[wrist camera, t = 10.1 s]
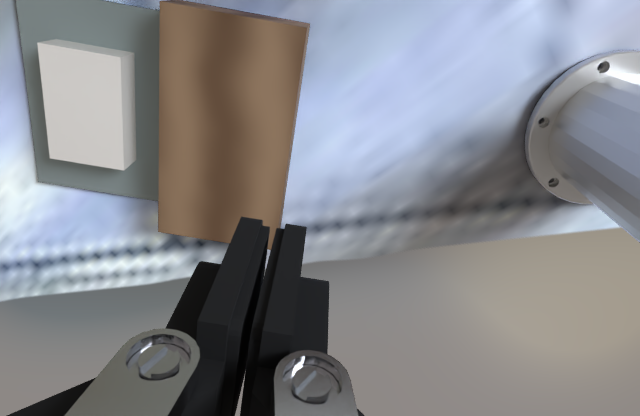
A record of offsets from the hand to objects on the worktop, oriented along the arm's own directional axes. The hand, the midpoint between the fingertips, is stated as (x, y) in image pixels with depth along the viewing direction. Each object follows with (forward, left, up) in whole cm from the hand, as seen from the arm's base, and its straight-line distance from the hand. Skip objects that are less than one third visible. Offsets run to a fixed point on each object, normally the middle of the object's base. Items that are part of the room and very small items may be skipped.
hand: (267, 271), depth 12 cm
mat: (+17, +5, -27) cm, 32 cm away
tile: (+17, +5, -24) cm, 30 cm away
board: (+6, +5, -27) cm, 28 cm away
